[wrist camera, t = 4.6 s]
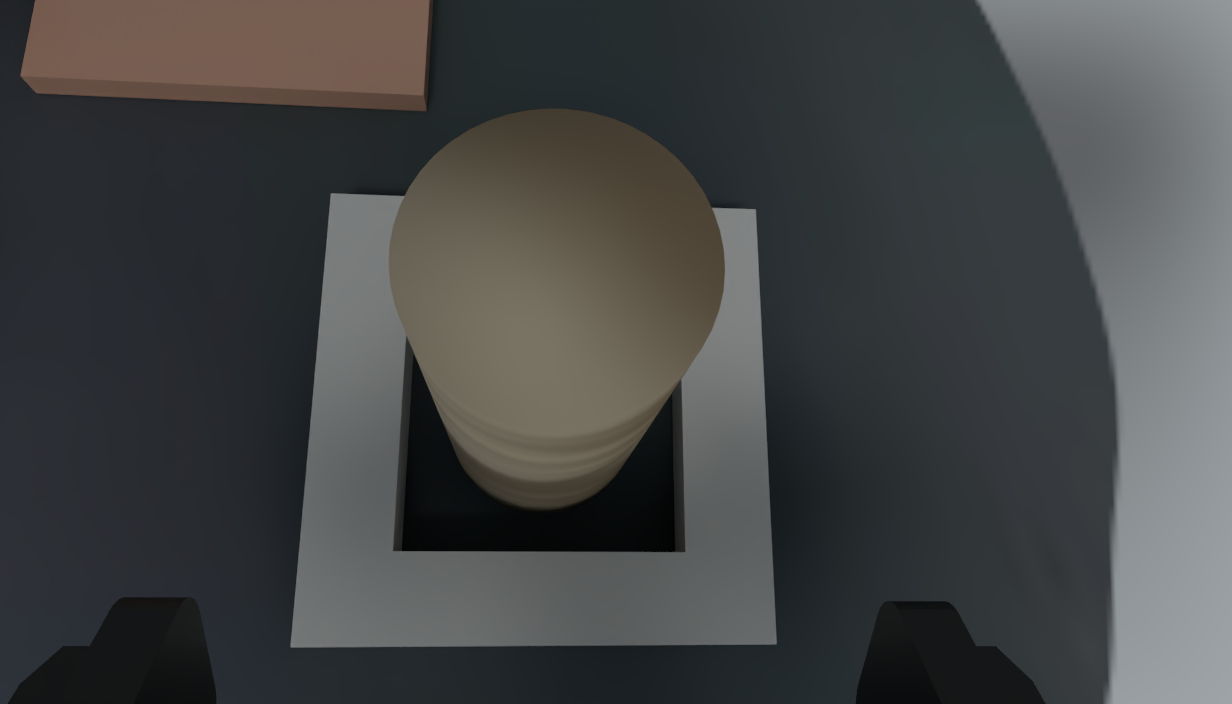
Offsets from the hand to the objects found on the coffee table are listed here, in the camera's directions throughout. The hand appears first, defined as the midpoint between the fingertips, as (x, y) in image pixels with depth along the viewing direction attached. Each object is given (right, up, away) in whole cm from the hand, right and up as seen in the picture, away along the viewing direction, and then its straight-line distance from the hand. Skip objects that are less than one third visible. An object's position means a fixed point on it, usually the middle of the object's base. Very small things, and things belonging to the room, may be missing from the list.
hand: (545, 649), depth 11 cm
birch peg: (-1, +2, +12) cm, 12 cm away
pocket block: (-1, +2, +12) cm, 12 cm away
